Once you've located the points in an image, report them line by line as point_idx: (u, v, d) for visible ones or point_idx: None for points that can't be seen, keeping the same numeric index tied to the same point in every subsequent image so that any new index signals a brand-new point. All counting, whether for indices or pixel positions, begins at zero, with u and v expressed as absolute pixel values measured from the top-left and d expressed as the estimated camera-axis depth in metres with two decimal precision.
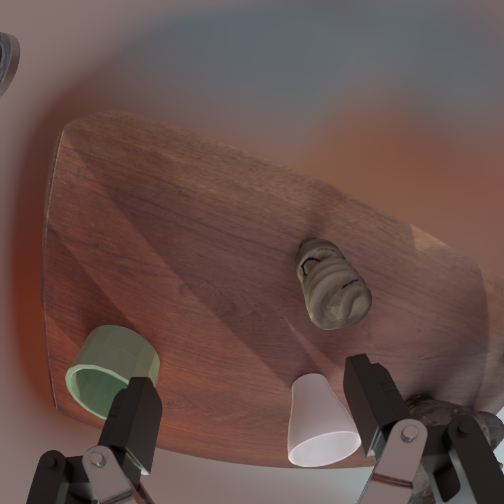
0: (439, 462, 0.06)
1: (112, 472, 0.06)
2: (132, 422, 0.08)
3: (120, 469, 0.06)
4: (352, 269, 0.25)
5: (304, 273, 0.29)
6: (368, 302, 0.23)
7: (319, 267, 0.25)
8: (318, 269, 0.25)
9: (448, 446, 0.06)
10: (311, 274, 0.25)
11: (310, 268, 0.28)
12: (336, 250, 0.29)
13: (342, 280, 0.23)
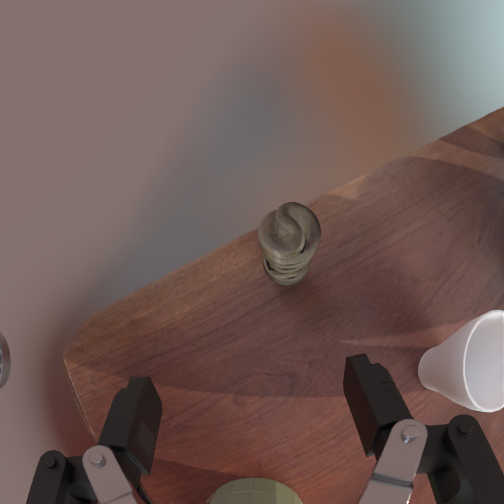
0: (439, 462, 0.06)
1: (112, 472, 0.06)
2: (132, 422, 0.08)
3: (120, 469, 0.06)
4: None
5: (277, 271, 0.31)
6: (301, 207, 0.26)
7: None
8: None
9: (448, 446, 0.06)
10: None
11: None
12: None
13: (269, 218, 0.27)
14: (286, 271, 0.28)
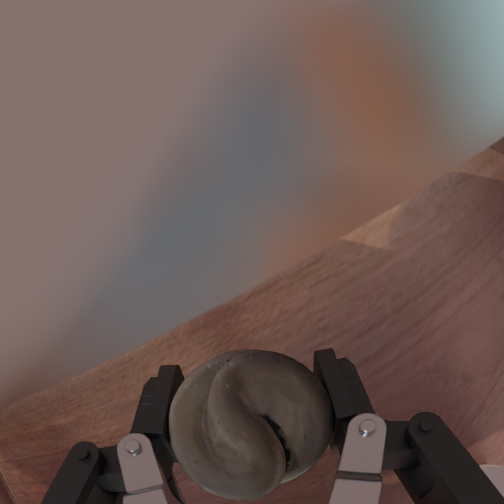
0: (401, 459, 0.07)
1: (146, 462, 0.07)
2: (166, 409, 0.09)
3: (155, 460, 0.07)
4: None
5: None
6: (285, 370, 0.08)
7: None
8: None
9: (409, 443, 0.07)
10: None
11: None
12: None
13: (198, 388, 0.09)
14: None
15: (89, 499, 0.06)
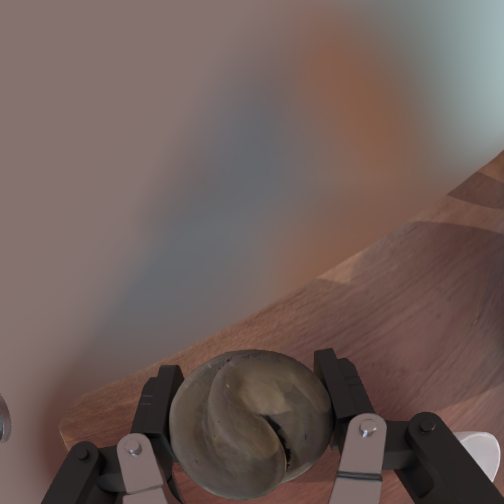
0: (402, 459, 0.07)
1: (146, 462, 0.07)
2: (166, 409, 0.09)
3: (155, 460, 0.07)
4: None
5: None
6: (285, 370, 0.08)
7: None
8: None
9: (410, 443, 0.07)
10: None
11: None
12: None
13: (198, 388, 0.09)
14: None
15: (89, 499, 0.06)
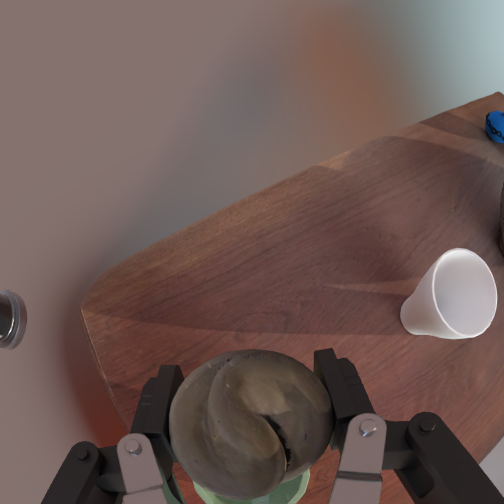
0: (402, 459, 0.07)
1: (146, 462, 0.07)
2: (166, 409, 0.09)
3: (155, 460, 0.07)
4: None
5: None
6: (285, 370, 0.08)
7: None
8: None
9: (410, 443, 0.07)
10: None
11: None
12: None
13: (198, 387, 0.09)
14: None
15: (89, 499, 0.06)
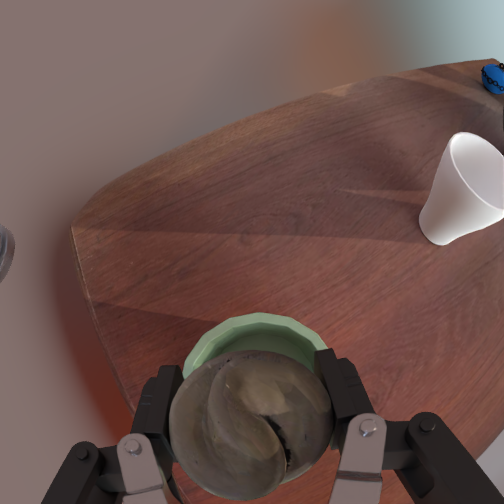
0: (401, 459, 0.07)
1: (146, 462, 0.07)
2: (166, 409, 0.09)
3: (155, 460, 0.07)
4: None
5: None
6: (285, 370, 0.08)
7: None
8: None
9: (410, 443, 0.07)
10: None
11: None
12: None
13: (198, 388, 0.09)
14: None
15: (89, 499, 0.06)
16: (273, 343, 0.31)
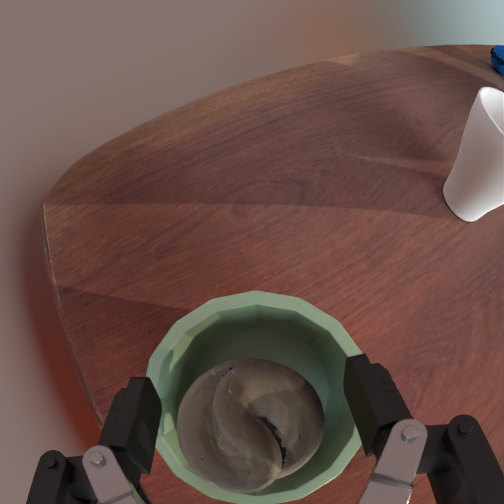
0: (439, 462, 0.06)
1: (112, 472, 0.06)
2: (132, 422, 0.08)
3: (120, 469, 0.06)
4: None
5: None
6: (280, 377, 0.09)
7: None
8: None
9: (448, 446, 0.06)
10: None
11: None
12: None
13: (203, 393, 0.10)
14: None
15: None
16: (274, 338, 0.24)
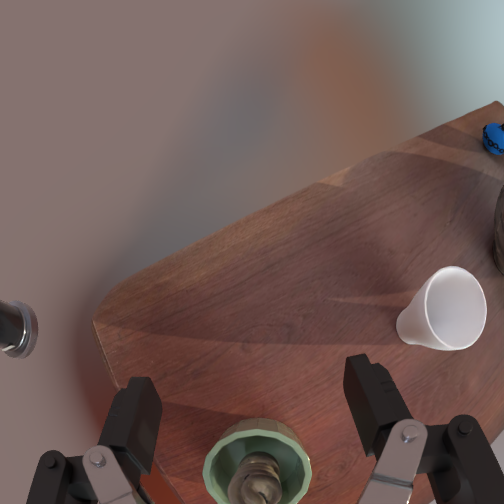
0: (439, 462, 0.06)
1: (112, 472, 0.06)
2: (132, 422, 0.08)
3: (120, 469, 0.06)
4: (248, 468, 0.25)
5: None
6: (265, 480, 0.22)
7: None
8: None
9: (448, 446, 0.06)
10: None
11: None
12: (250, 457, 0.29)
13: (237, 482, 0.23)
14: None
15: None
16: None
